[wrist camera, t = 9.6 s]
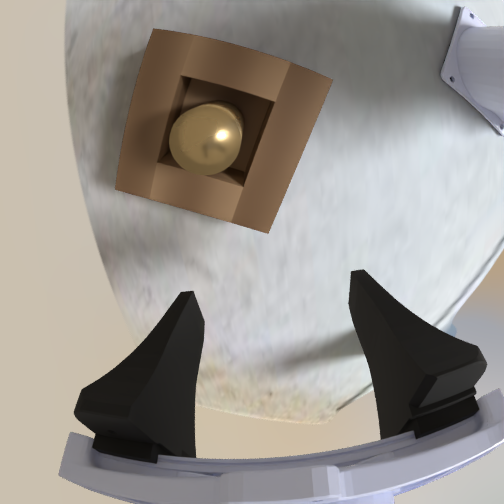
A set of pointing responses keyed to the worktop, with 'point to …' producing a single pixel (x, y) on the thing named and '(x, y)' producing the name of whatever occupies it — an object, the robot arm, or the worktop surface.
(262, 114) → the hole block
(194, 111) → the bronze pin
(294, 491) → the robot arm
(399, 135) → the worktop surface
